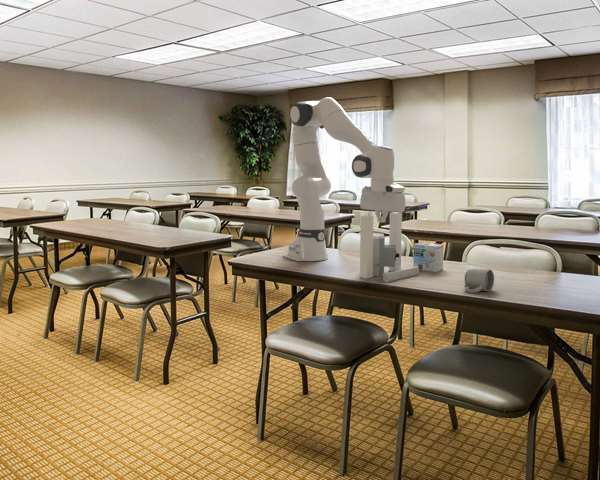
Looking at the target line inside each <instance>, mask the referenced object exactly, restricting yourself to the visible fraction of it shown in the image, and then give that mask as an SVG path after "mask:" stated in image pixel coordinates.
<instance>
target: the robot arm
mask: <svg viewBox="0 0 600 480" xmlns="http://www.w3.org/2000/svg"><path fill="white" fill-rule="evenodd" d="M289 119H290V121H291V123H292V124H293V127H292V139H293V142H292V143H293V148H294V149H293V150H294V155H295V156H294V157H295V162H296V165H297V166H298V168H299V170H300V171H301V173H302V175H300V176H299V177H298V178H296V179H295V180H294V181H293V182H292V185H291V186H292V187H291V189H292V190H291V191H292V193H293V195H294V196H295V197H296V200H297V204H298V209H299V216H300V218H299V220H300V224H299V225H300V228H299V229H296V233H298V234H297V236H296V238H294V239H293V240H291V242H290V243H289V244H288V246H287V253H284V254H282V257H283V256H284V257H283V258H286V259H290V260H293V261H296V262H319V261H320V262H321V261H324V260H325V261H326V260H328V258H329V257H328V253H327V252H328V251H327V246H326V240H325V237H326V228H325V211H324V209H323V207H322V204H321V200H320V198H323V197H325V196H326V195H327V194H329V192H330V191H331V187H332V185H331V183H332V182H331V181H330V179H329V178H328V176H327V175H326V172H325V169H324V166H323V163H322V160H321V155H320V148H319V141H318V137H317V131H318V129H321V130H322V129H324V130H325V132H326V134H328V135H329V136H330V137H331V138H332V139H334V140H337V141H340V142H345V143H347V144H350V145H352V146H354V147H355V148H357V149H358V150H359V151H360V152H361V154H357V155H356V156H355V157H353V160H352V162H351V171H352V173H353V175H354V176H355V177H356V178H360V179H370V180H371V181H370V186H367V185H366V186H363V188H362V189H361V196H360V201H359V203H360V205H359V207H360V209H362V210H368V211H374V214H375V215H376V218H377V222H378V223H386V222H387V217H388V215H389V213H393V212H398V213H404V211H406V196H405V194H404V192H405V187H404V186H403V185H401V184H398V183H396V182H395V180H394V179H395V177H394V170H395V154H394V153H395V152H394V150H393V148H392V147H390V146H388V145H381V144H375V142H373V140H371V138H370V137H369V136H368V135H367V134H366V132H364V130H362V128H360V127H359V126H358V125H357V124H356V123H355V122H354V121H353V120H352V119H351V117H350V116H349V115H348V114H347V112H346V110H345V109H344V108H343V107H342V106H341V105H340V103H339V102H337V100H335V99H334V98H333V97H329V96H328V97H324V98H321V99H320V100H307V101H298V102H295V103H292V105H291V107H290V110H289ZM381 213H382V215H381Z"/></svg>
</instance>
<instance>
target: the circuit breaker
mask: <svg viewBox="0 0 600 480" xmlns="http://www.w3.org/2000/svg"><path fill="white" fill-rule="evenodd" d="M385 238H386V236H385V235H373V277H374V276H375V277H376V276H377V277H383V273H385V267H387V268H389V267H395V260H396V257H399V254H400V253H396V250H395V246H396V245H389V244H385Z"/></svg>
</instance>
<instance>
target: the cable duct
mask: <svg viewBox="0 0 600 480" xmlns="http://www.w3.org/2000/svg"><path fill="white" fill-rule="evenodd" d="M419 271H420V270H419V267H417V266H409V267H405V268H401V269H400V270H395V271H387V272H384V273H383V276H382V282H386V283H388V282H393V281H396V280H401V279H405V278H408V277H409V278H410V277H412V276H416V275H419Z"/></svg>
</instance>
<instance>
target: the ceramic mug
mask: <svg viewBox="0 0 600 480" xmlns="http://www.w3.org/2000/svg"><path fill="white" fill-rule="evenodd" d="M463 280H464V290H465V292H467V293H468V292H469V293H470V294H475V293H478V292H481V291H482V292H486V291H489V292H491V291H492V290H493V288H494V283H495V274H494V271H493V270H492V269H491V268H469V269H468V270H466V272H465V274H464V279H463ZM490 290H491V291H490Z"/></svg>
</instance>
